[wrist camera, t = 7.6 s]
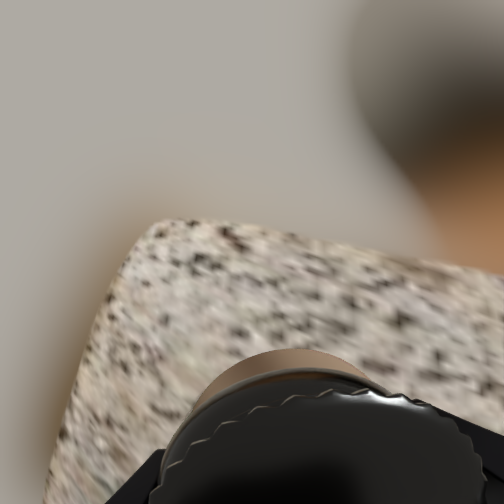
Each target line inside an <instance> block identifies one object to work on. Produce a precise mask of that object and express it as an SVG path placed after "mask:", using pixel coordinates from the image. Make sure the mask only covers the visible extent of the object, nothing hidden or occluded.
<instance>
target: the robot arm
mask: <svg viewBox="0 0 504 504" xmlns="http://www.w3.org/2000/svg"><path fill="white" fill-rule="evenodd" d="M412 401H413V402H414V403H415V404H416V403H426V402H424V401H421V400H419V399H413V400H412ZM433 407H434V408H435V409H436V410H437V412H438V413H439V414H440V416H447V417H450V418H453V419H454V421H455V422H456V424H457V426H458V428H459V431H460V432H462V433H465V434H467V435H469V436H470V437H471V440H472V444H473V449H474V451H475V452H476V453H478V454H479V455H480V456H481V457H482V472H483V474H484V475H485V476H486V478H487V480H488V481H487V488H486V493H485V496H486V499H487V504H504V436H503V435H500V434H498V433H495V432H493V431H490V430H488V429H485V428H483V427H480V426H478V425H476V424H473V423H471V422H469V421H466V420H464V419H462V418H459V417H457V416H455V415H452V414H450V413H448V412H446V411H443V410H441V409H439V408H437V407H435V406H433ZM165 451H166V449H157V450H156V451H155V452H154V453H153V454H152V455H151V456H150V457H149V458H148V459H147V460H146V462H145V463H144V464H143V465H142V466H141V467H140V468H139V469H138V470H137V471H136V472H135V473H134V474H133V475H132V476H131V477H130V478H129V479H128V481H127V482H126V483H125V484H124V485H123V486H122V487H121V488H120V489H119V490H118V491H117V492H116V493H115V494H114V495H113V496H112V497H111V498H110V499H109V500H108V501H107V502H106V503H105V504H149V494H150V492H151V491H152V490H154V489H155V488H156V487H157V479H158V473H159V468H160V465H161V461H162V458H163V455H164V453H165Z"/></svg>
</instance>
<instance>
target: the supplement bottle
mask: <svg viewBox="0 0 504 504" xmlns="http://www.w3.org/2000/svg"><path fill="white" fill-rule="evenodd" d="M487 481H488V480H487V478H486V476H485V475H484V474H483V472H482V457H481V456H480V455H479V454H478V453H476V452H475V451H474V449H473V444H472V440H471V437H470V436H469V435H467V434H465V433H462V432H460V431H459V428H458V426H457V424H456V422H455V421H454V419H453V418H450V417H447V416H440V414H439V413H438V412H437V410H436V409H435V408H434V407H433V406H432V405H431V404H429V403H416V404H415V403H414V402H413V401H412V400H411V399H410V398H408V397H407V396H405V395H404V394H402V393H397V394H392V393H391V392H389V391H388V390H386V389H385V388H383V387H381V386H380V385H378V384H376V383H374V382H372V381H370V380H368V379H366V378H363V377H360V376H358V375H355V374H352V373H348V372H344V371H340V370H334V369H328V368H316V367H298V368H286V369H280V370H274V371H269V372H266V373H262V374H258V375H255V376H252V377H249V378H246V379H244V380H241V381H239V382H237V383H234V384H232V385H230V386H228V387H227V388H225V389H223V390H221V391H219V392H218V393H216V394H215V395H213V396H212V397H210V398H209V399H208V400H206V401H205V402H204V403H202V404H201V405H200V406H199V407H198V408H197V409H195V410H194V411H193V412H192V413H191V414H190V415H189V416H188V417H187V419H186V420H185V421H184V422H183V423H182V424H181V426H180V427H179V428H178V430H177V431H176V433H175V434H174V435H173V437H172V439H171V441H170V443H169V444H168V446H167V448H166V451H165V453H164V455H163V458H162V461H161V465H160V468H159V473H158V479H157V487H156V488H155V489H154V490H152V491H151V492H150V494H149V504H487V499H486V496H485V493H486V488H487Z"/></svg>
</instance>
